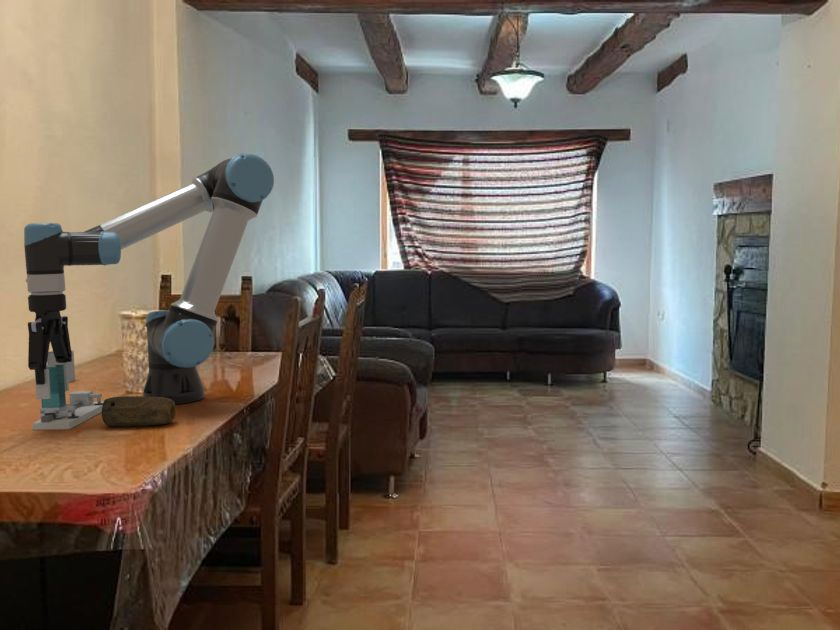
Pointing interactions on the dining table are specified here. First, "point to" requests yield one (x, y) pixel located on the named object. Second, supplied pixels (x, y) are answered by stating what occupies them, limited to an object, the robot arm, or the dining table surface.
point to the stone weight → (137, 411)
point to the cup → (70, 365)
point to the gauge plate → (82, 413)
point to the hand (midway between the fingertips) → (53, 394)
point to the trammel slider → (56, 394)
